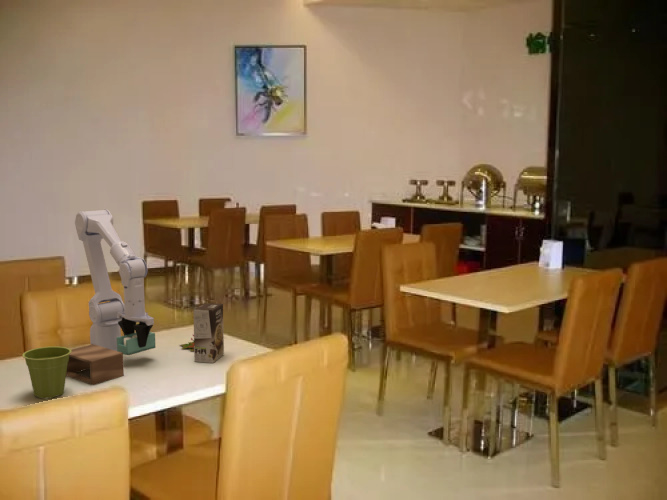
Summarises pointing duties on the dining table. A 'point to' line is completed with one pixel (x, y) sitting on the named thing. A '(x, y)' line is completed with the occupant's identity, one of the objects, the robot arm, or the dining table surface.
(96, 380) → the wooden crate box
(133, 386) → the dining table surface
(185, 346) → the red green leafy plant
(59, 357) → the plant pot
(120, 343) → the tray
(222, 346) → the coffee box
